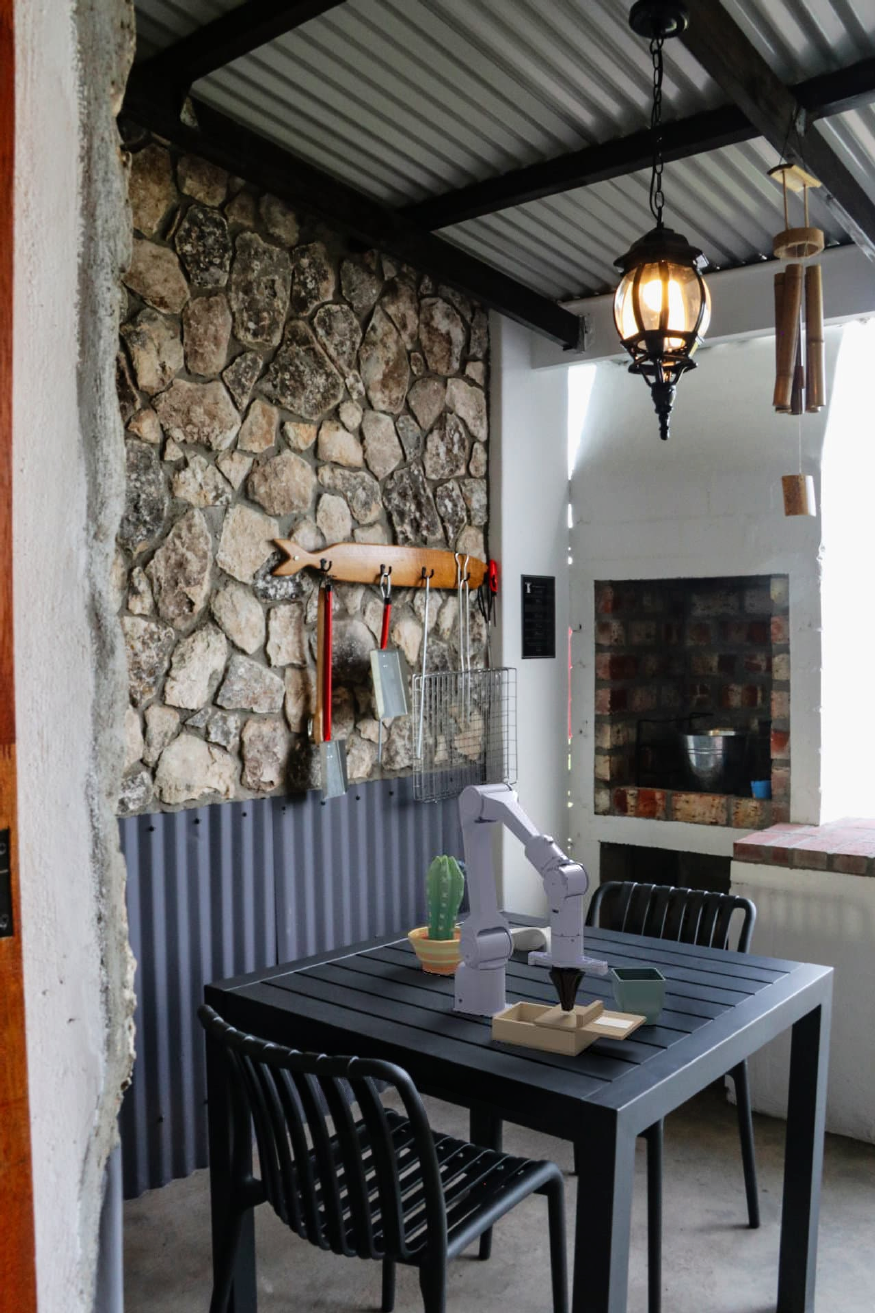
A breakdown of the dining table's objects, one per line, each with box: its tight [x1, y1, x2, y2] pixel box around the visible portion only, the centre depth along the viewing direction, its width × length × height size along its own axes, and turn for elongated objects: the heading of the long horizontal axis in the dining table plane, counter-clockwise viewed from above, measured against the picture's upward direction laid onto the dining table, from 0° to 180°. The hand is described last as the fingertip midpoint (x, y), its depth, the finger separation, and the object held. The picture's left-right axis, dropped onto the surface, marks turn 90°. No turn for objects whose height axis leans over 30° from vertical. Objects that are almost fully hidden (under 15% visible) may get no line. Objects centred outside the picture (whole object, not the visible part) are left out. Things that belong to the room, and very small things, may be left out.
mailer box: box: [491, 1001, 601, 1057], centre depth 193 cm, size 16×11×4 cm
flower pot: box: [610, 967, 667, 1026], centre depth 202 cm, size 9×9×9 cm
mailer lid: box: [533, 999, 646, 1041], centre depth 189 cm, size 16×12×3 cm
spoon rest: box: [509, 926, 551, 953], centre depth 252 cm, size 24×12×7 cm, turn 19°
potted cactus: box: [407, 854, 467, 975], centre depth 239 cm, size 15×15×25 cm
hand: (567, 1009), depth 191 cm, fingers closed
